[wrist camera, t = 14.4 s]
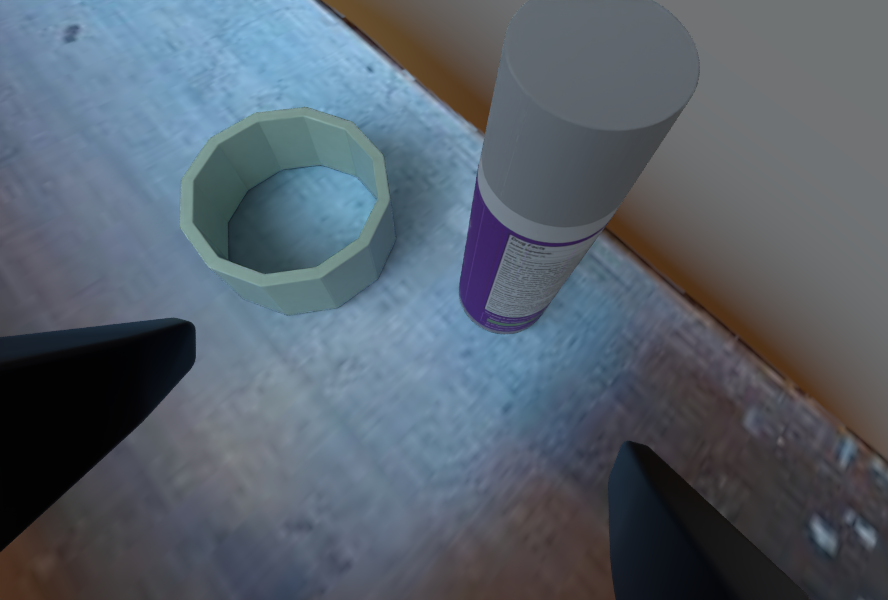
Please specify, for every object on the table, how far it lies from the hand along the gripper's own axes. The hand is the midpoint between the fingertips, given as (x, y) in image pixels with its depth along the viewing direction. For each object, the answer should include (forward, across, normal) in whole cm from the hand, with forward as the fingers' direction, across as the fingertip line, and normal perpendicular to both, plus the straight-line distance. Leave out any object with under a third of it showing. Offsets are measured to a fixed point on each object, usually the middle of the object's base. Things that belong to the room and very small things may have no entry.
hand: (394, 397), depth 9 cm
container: (+16, -2, +3) cm, 16 cm away
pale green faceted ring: (+16, +10, +2) cm, 18 cm away
